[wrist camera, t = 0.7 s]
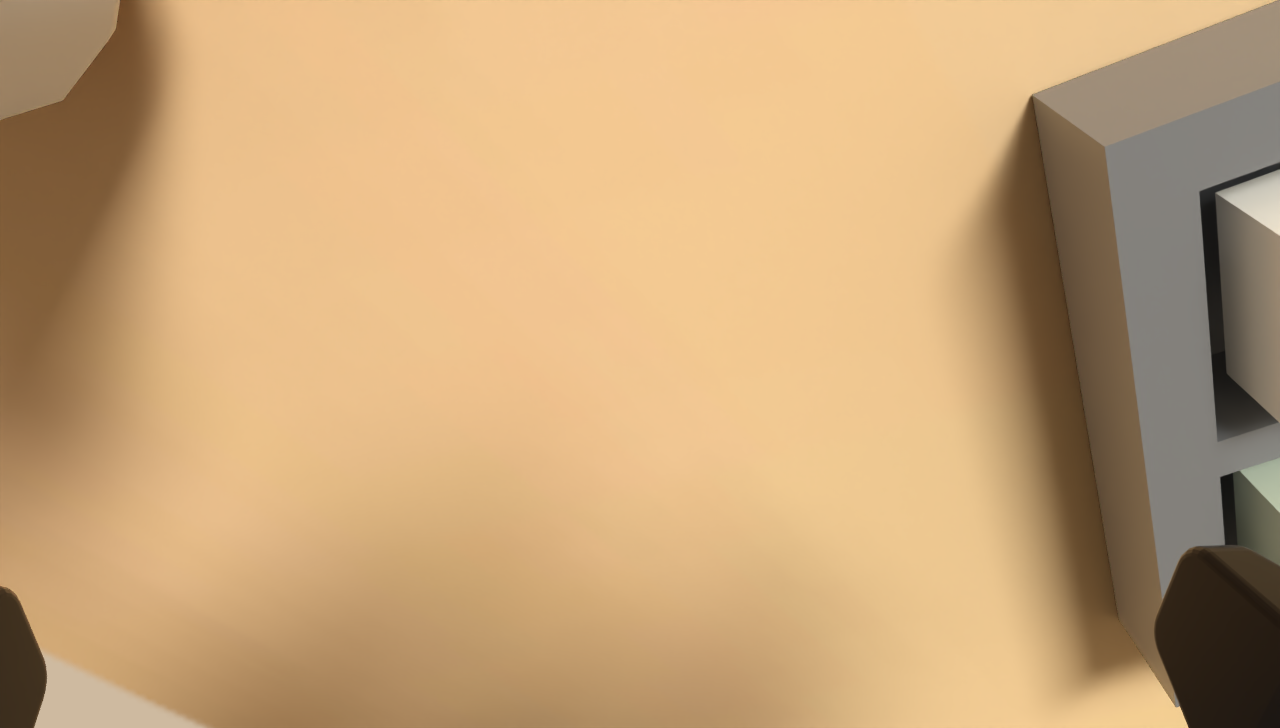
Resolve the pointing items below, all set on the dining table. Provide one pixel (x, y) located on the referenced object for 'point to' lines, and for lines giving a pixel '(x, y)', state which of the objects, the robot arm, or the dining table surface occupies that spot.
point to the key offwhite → (1252, 285)
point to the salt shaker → (48, 48)
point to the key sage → (1259, 508)
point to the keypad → (1161, 289)
